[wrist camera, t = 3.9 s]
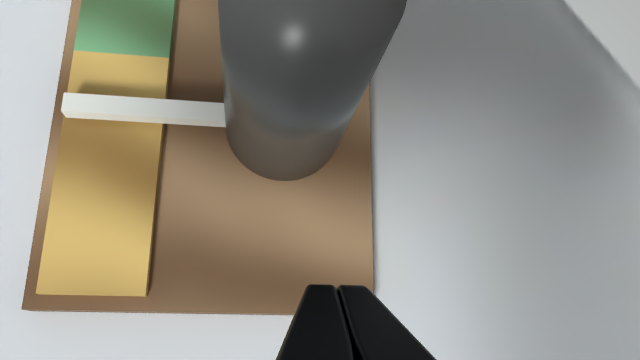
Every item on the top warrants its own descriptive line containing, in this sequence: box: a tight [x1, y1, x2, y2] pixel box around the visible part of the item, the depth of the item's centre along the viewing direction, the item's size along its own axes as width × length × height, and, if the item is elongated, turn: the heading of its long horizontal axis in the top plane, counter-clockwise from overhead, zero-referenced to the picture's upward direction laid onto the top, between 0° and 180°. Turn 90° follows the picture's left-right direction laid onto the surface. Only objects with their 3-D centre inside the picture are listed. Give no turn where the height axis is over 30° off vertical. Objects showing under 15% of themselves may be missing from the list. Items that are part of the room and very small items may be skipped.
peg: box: [61, 0, 407, 181], centre depth 17 cm, size 9×10×9 cm
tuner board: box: [22, 0, 374, 315], centre depth 21 cm, size 14×12×1 cm
